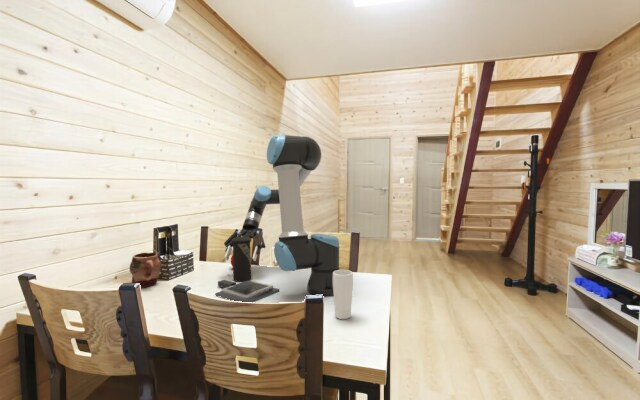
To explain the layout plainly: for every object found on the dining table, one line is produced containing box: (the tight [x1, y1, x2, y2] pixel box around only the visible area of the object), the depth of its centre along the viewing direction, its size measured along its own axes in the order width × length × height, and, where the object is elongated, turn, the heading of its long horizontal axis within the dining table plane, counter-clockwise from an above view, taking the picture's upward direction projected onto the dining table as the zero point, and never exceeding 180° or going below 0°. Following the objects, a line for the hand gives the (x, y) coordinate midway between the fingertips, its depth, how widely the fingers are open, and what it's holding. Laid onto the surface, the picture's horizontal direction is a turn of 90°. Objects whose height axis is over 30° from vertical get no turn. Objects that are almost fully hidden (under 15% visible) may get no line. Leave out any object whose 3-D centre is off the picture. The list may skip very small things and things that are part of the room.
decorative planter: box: [129, 252, 162, 289], centre depth 143 cm, size 20×12×14 cm, turn 50°
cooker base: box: [214, 279, 280, 303], centre depth 133 cm, size 26×18×2 cm
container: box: [231, 236, 252, 283], centre depth 150 cm, size 9×9×20 cm
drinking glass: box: [333, 269, 354, 320], centre depth 107 cm, size 7×7×15 cm
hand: (239, 259), depth 148 cm, fingers open, 13 cm apart
